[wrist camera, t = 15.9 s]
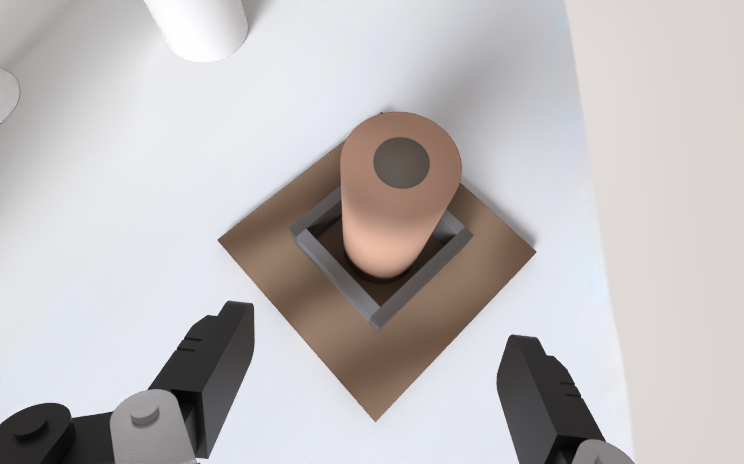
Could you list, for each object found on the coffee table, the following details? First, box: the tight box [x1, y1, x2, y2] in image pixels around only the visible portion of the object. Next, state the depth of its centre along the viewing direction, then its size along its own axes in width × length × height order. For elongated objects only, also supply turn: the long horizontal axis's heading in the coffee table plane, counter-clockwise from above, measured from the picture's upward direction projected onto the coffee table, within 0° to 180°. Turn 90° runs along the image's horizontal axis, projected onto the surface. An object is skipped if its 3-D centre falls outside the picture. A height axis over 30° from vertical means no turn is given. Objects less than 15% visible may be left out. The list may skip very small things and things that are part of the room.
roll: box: [340, 112, 462, 284], centre depth 23 cm, size 5×5×12 cm
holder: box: [218, 112, 536, 422], centre depth 28 cm, size 16×16×4 cm
